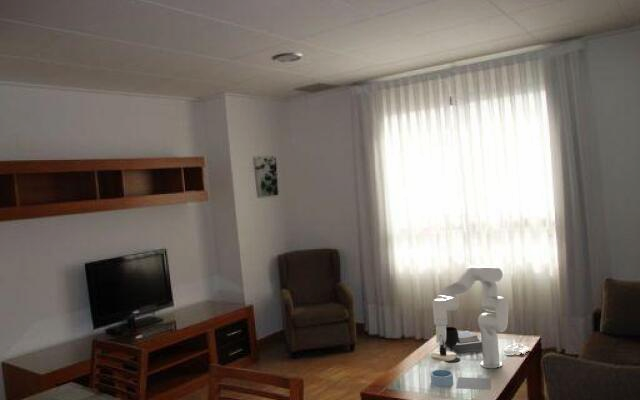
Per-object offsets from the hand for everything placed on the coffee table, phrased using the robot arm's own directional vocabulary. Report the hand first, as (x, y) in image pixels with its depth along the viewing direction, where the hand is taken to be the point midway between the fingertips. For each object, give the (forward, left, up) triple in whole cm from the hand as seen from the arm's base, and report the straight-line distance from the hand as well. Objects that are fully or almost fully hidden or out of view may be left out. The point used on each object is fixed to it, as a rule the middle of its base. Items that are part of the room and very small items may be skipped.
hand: (443, 353), depth 296 cm
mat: (-1, +15, -18) cm, 23 cm away
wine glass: (-39, 0, -18) cm, 43 cm away
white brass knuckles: (-57, +39, -18) cm, 72 cm away
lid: (0, 0, -2) cm, 2 cm away
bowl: (0, -2, -18) cm, 18 cm away
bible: (-65, +6, -18) cm, 68 cm away
